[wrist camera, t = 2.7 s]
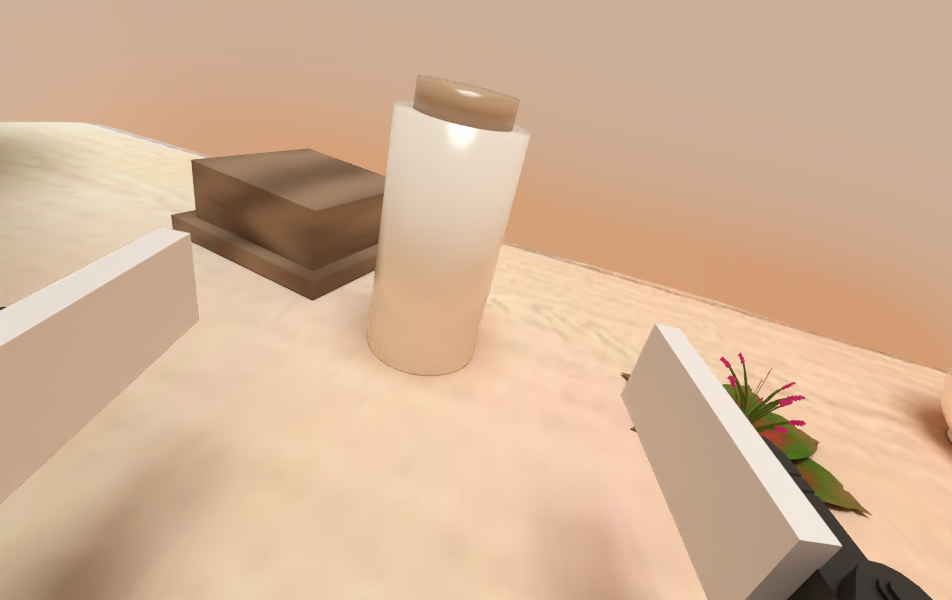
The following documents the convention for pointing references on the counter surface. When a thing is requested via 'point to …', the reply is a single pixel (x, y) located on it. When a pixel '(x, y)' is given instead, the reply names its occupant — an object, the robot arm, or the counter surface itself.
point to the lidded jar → (947, 401)
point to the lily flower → (787, 438)
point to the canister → (442, 222)
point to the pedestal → (288, 216)
